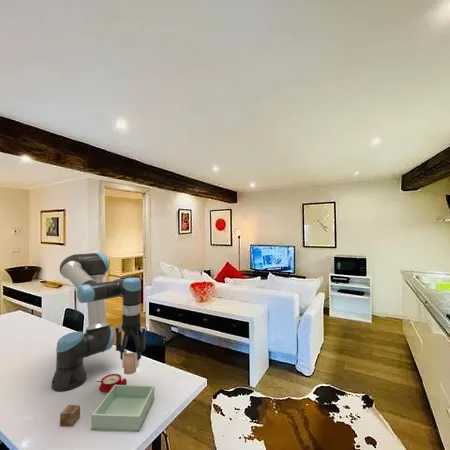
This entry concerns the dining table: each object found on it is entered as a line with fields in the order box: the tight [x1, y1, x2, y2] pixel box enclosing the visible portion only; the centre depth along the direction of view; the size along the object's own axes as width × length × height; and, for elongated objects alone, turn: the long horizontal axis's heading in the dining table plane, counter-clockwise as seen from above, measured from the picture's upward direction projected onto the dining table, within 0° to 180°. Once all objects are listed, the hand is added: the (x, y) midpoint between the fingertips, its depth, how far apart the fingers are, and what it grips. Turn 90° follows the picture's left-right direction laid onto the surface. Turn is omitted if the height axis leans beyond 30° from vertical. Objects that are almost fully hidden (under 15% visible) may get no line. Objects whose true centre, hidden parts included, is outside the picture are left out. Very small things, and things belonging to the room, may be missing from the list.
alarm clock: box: [96, 373, 128, 394], centre depth 126 cm, size 10×6×15 cm
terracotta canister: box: [123, 352, 137, 375], centre depth 114 cm, size 5×5×7 cm
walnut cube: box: [59, 404, 81, 428], centre depth 104 cm, size 5×5×5 cm
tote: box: [90, 384, 156, 432], centre depth 109 cm, size 19×20×6 cm
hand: (130, 366), depth 114 cm, fingers closed on terracotta canister, 5 cm apart
